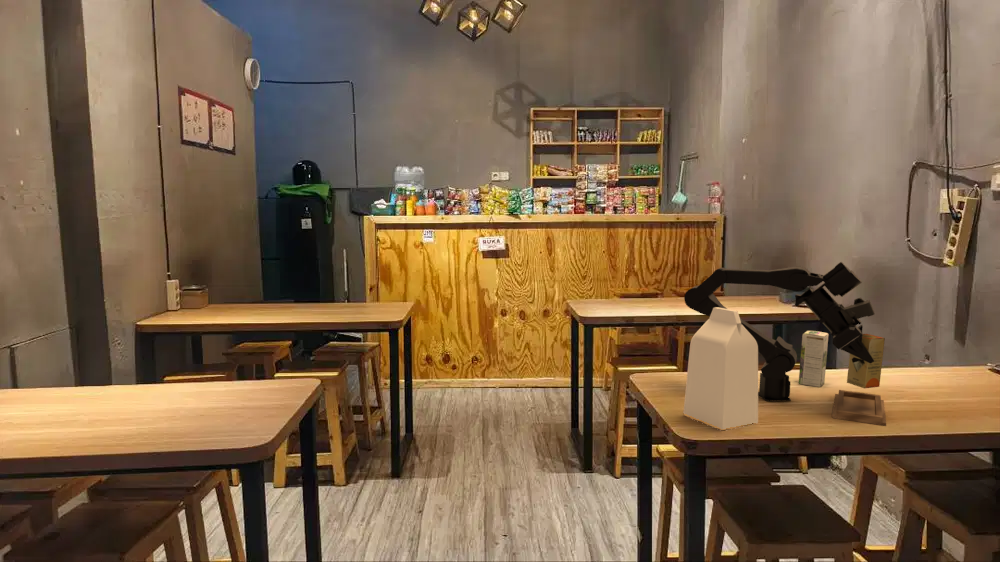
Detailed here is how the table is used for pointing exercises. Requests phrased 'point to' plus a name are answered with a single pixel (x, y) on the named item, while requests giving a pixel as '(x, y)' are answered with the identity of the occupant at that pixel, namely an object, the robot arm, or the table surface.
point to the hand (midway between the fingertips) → (872, 359)
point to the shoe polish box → (867, 364)
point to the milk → (723, 372)
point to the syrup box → (813, 358)
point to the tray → (859, 407)
